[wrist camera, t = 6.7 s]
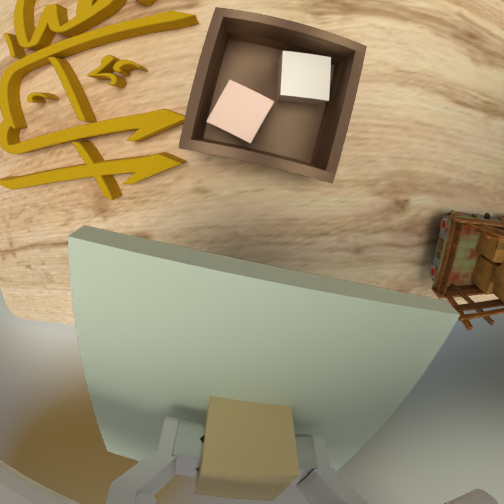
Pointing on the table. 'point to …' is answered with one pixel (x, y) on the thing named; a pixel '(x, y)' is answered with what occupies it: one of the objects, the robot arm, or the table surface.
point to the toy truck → (470, 263)
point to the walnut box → (273, 93)
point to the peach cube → (240, 111)
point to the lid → (241, 355)
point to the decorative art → (147, 125)
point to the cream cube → (303, 78)
